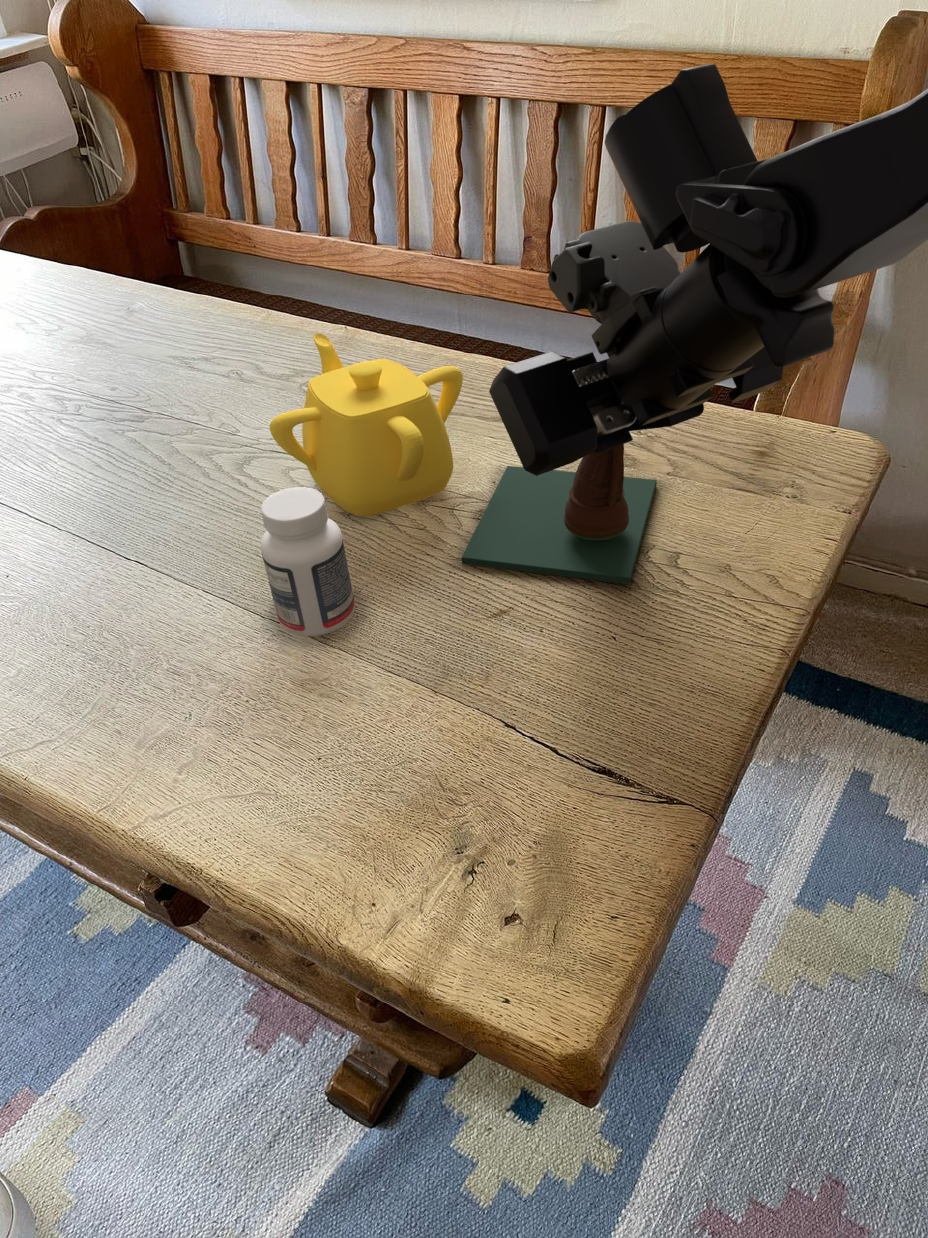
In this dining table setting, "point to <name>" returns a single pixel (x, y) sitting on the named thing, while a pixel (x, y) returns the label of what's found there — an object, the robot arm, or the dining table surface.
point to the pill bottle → (305, 563)
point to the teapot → (372, 432)
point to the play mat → (554, 530)
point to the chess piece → (598, 497)
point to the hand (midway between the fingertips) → (584, 430)
